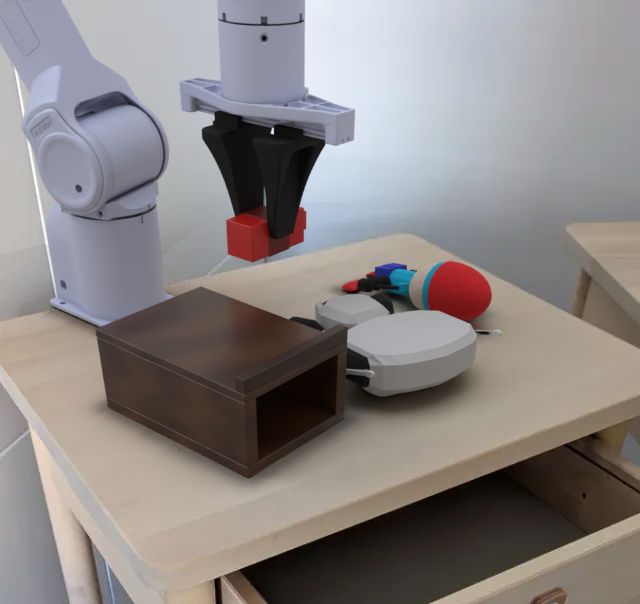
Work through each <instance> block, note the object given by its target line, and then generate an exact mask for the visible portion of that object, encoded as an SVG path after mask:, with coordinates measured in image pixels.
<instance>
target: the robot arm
mask: <svg viewBox="0 0 640 604" xmlns="http://www.w3.org/2000/svg"><path fill="white" fill-rule="evenodd" d="M216 6H217V28H218V49H219V50H218V52H219V71H220V73H219V74H220V80H219V79H218V80H217V79H210V78H203V77H193V78H190V79H184V80H180V81H179V95H180V107H181V108H180V109H181V111H182V112H187V113H197V112H200V113H204V114H209V115H213V117H214V120H212V124H211V125H210V124H209V125H207V126H204V127H202V128H201V139H202V141H203V142H204V144H205V146H206V147H207V148H208V150H209V152H210V154H211V156H212V158H213V160H214V161H215V163H216V165H217V167H218V169H219V170H218V171H219V172H220V175H221V176H222V179H223V182H224V185H225V188H226V190H227V193H228V197H229V201H230V204H231V207H232V210H233V211H232V212H233V214H234V217H235V216H238V215H241V214H242V213H243V212H246V211H249V210H251V209H254V208H257V207H260V206H266V214H267V226H268V232H269V234H270V238H273V239H280V238H283V237H285V236H288V235H290V234H293V233H294V228H295V224H296V219H297V215H298V210H299V207H301V203H302V199H303V195H304V192H305V190H306V186H307V183H308V181H309V178H310V176H311V173H312V172H313V169H314V167H315V165H316V162H317V160H318V159H319V157H320V155H321V154H322V152H323V150H324V149H325V147H326V145H330V146H335V147H338V146H341V145H343V144H347V143H350V142H353V141H354V140H355V122H356V109H355V108H351V107H348V106H344V105H341V104H337V103H334V102H331V101H329V100H327V99H325V98H321V97H319V96H316V95H313V94H311V93H309V87H307V86H305V78H306V77H305V73H306V72H305V69H306V66H305V63H306V62H305V61H306V59H305V58H306V57H305V56H306V54H305V53H306V48H305V47H306V20H305V19H306V0H216ZM0 45H1V47H2V49H3V50H4V52H5V54H6V56H7V57H8V59H9V61H10V62H11V64H12V66H13V67H14V70H15V71H16V72H17V74H18V76H19V78H20V79H21V81H22V83H23V84H24V86H25V88H26V90H27V92H28V93H29V95H28V98H27V99H28V100H27V103H26V107H25V111H24V114H23V117H22V121H21V125H20V128H21V131H22V133H23V134H24V136H25V138H26V140H27V141H28V143H29V145H30V147H31V149H32V152H33V154H34V156H35V161H36V166H37V171H38V173H39V177H40V179H41V181H42V183H43V186H44V187H45V189H46V191H47V193H48V194H49V195H50V196H51V197H52V199H53V200H54V201H55V202H53V204H52V206H51V208H49V209H50V210H49V212H48V215H47V218H46V227H45V229H46V230H45V232H46V238H47V243H48V244H47V245H48V249H49V255H50V260H51V265H52V271H53V276H54V281H55V287H56V292H57V296H56V297H53V298H51V299H50V300H49V302H50V306H52V307H53V308H56V309H58V310H61V311H63V312H66V313H68V314H70V315H72V316H73V317H76V318H78V319H81V320H83V321H85V322H88V323H90V324H93V325H95V326H96V327H101V326H103V325H106V324H108V323H111V322H113V321H116V320H118V319H121V318H123V317H126V316H128V315H131V314H133V313H136V312H138V311H141V310H143V309H146V308H148V307H151V306H153V305H156V304H158V303H161V302H163V301H165V300H168V299H170V298H173V297H175V296H174V295H172V294H169V293H167V292H166V285H165V276H164V264H163V256H162V244H161V236H160V225H159V216H158V215H159V214H158V206H157V205H158V204H157V196H159V194H160V193H159V184H158V181H159V180H160V179H161V178H162V177H163V175H164V174H165V172H166V170H167V168H168V166H169V165H168V164H169V161H170V160H169V159H170V146H169V145H170V144H169V139H168V136H167V133H166V131H165V129H164V126H163V125H162V122H161V121H160V120H159V118H158V117H157V115H156V114H155V113H154V112H153V111H152V110H151V109H150V108H148V107H147V106H146V105H145V104H144V103H142V101H140V99H139V98H138V97H137V95H136V94H135V93H134V91H133V89H132V88H131V86H130V83H128V80H127V79H126V78H125V77H124V76H122V75H121V74H120V73H118V72H117V71H115V70H114V69H112V68H111V67H109V66H107V65H105V64H104V63H103V62H101V61H99V60H98V59H96V58H95V57H94V56H93V54H92V53H91V51H90V49H89V47H88V46H87V44H86V42H85V40H84V39H83V36H82V35H81V33H80V31H79V30H78V28H77V26H76V24H75V22H74V20H73V18H72V17H71V15H70V13H69V11H68V10H67V7H66V6H65V4H64V2H63V0H0ZM272 131H273V133H272Z"/></svg>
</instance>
